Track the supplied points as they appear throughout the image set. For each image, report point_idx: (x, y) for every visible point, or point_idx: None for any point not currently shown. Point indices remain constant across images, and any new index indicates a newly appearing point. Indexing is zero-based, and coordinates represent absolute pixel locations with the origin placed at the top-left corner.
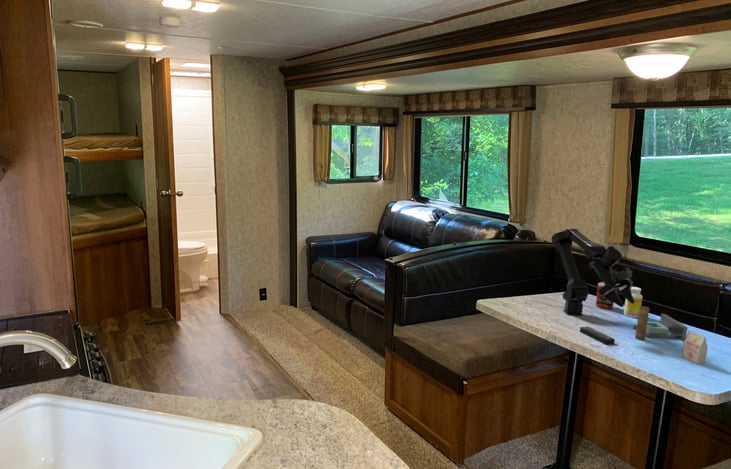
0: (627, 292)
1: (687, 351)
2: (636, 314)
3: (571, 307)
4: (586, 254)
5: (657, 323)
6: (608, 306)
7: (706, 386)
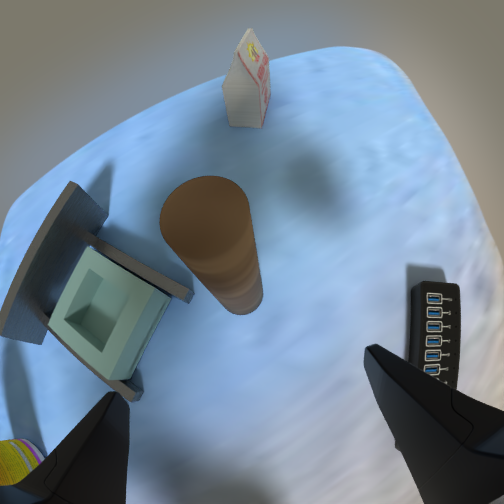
0: (79, 499)
1: (263, 96)
2: (27, 446)
3: None
4: None
5: (64, 314)
6: None
7: (359, 57)
